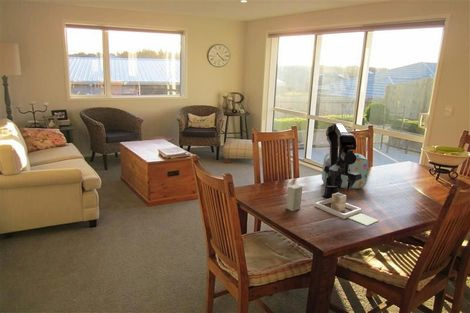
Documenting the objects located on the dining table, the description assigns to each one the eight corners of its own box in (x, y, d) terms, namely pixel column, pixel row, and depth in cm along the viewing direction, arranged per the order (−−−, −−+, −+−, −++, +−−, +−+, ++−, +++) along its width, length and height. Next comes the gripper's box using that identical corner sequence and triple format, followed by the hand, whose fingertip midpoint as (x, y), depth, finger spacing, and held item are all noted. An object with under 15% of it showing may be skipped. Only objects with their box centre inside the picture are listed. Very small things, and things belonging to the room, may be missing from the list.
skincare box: (294, 205, 186) (296, 183, 183) (300, 208, 182) (302, 186, 179) (285, 208, 182) (287, 185, 179) (292, 211, 179) (294, 188, 176)
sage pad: (348, 218, 173) (348, 217, 173) (360, 213, 179) (360, 213, 179) (366, 226, 166) (366, 225, 165) (378, 221, 172) (378, 220, 171)
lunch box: (362, 184, 225) (367, 151, 220) (368, 190, 215) (373, 155, 210) (319, 182, 225) (323, 149, 220) (323, 188, 215) (327, 153, 210)
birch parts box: (330, 208, 184) (332, 193, 182) (336, 206, 187) (338, 192, 185) (338, 212, 180) (340, 196, 178) (344, 210, 183) (346, 195, 181)
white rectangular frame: (314, 206, 186) (314, 202, 186) (331, 200, 195) (332, 197, 195) (344, 218, 172) (344, 215, 172) (361, 212, 181) (362, 208, 181)
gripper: (318, 156, 179) (315, 186, 183) (350, 165, 165) (346, 197, 169) (332, 154, 186) (329, 182, 190) (364, 162, 172) (359, 193, 176)
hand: (340, 188), depth 181 cm, fingers open, 9 cm apart
